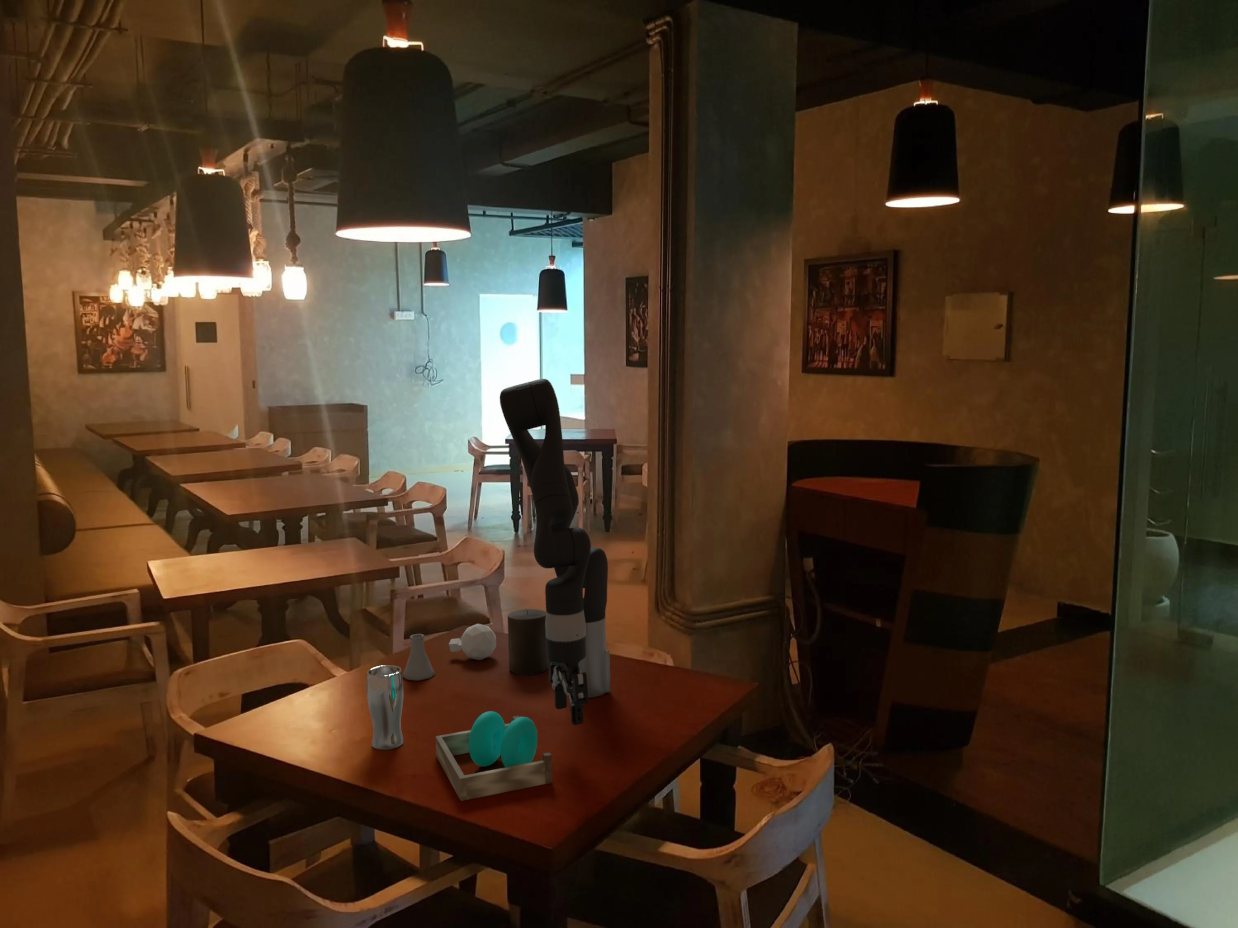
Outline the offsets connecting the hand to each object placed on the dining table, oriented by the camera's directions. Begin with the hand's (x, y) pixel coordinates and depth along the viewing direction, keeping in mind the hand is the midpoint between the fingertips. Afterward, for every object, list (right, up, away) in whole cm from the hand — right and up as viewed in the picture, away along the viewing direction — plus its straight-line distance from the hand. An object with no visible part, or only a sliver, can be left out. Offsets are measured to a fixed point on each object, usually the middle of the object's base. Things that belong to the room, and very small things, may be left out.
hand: (569, 715), depth 179 cm
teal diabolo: (-12, -9, -4) cm, 15 cm away
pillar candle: (-12, -2, +51) cm, 52 cm away
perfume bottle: (-27, -1, +60) cm, 66 cm away
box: (-15, -9, -5) cm, 18 cm away
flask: (-38, -3, +47) cm, 61 cm away
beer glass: (-36, -8, +7) cm, 38 cm away
